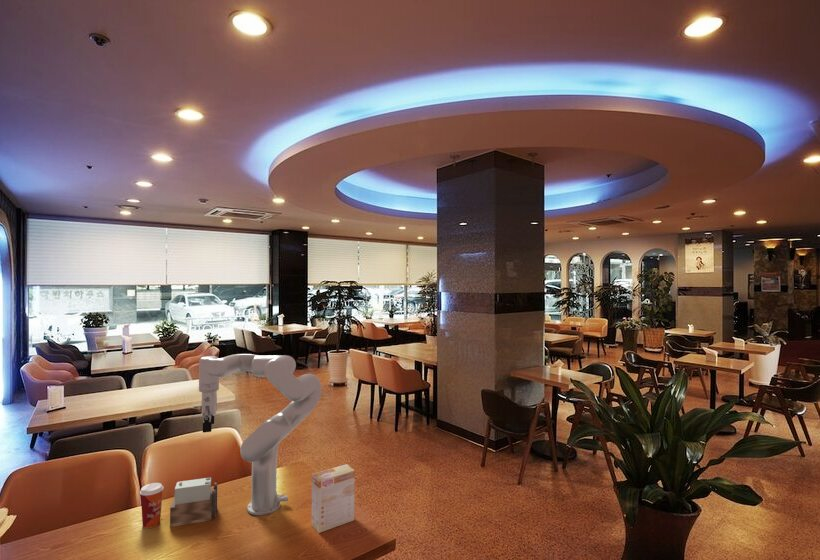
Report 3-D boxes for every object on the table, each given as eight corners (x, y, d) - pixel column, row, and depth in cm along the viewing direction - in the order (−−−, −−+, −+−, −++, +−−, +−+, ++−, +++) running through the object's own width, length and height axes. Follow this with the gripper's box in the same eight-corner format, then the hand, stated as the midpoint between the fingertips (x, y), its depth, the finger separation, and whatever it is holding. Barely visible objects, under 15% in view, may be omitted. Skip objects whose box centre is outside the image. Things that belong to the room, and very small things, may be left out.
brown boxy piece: (217, 506, 176) (217, 480, 176) (214, 519, 166) (214, 492, 166) (175, 512, 171) (175, 486, 171) (169, 526, 162) (170, 498, 162)
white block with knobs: (211, 492, 174) (211, 475, 173) (209, 499, 168) (209, 482, 168) (177, 497, 169) (177, 479, 169) (174, 504, 164) (174, 486, 164)
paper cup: (152, 531, 159) (152, 492, 159) (134, 528, 160) (134, 490, 160) (168, 519, 166) (168, 482, 166) (150, 517, 168) (151, 480, 168)
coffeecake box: (346, 512, 173) (346, 463, 173) (354, 520, 167) (355, 470, 167) (310, 524, 164) (311, 473, 164) (318, 533, 158) (319, 480, 158)
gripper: (216, 391, 173) (216, 434, 173) (220, 381, 189) (220, 420, 190) (195, 392, 171) (195, 436, 171) (201, 382, 187) (201, 422, 187)
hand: (208, 427), depth 180 cm, fingers open, 9 cm apart
